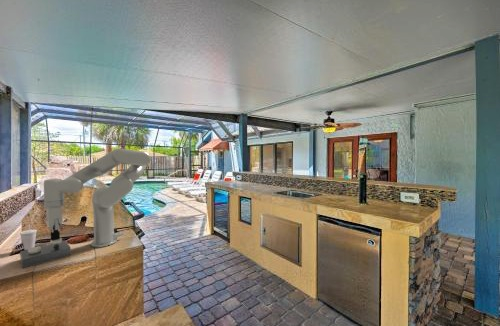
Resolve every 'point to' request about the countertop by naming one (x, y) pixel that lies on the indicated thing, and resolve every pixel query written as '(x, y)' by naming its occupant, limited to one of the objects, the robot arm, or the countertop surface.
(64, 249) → the housing
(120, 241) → the countertop surface
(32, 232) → the smoothie
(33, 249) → the knob
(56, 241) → the knob
